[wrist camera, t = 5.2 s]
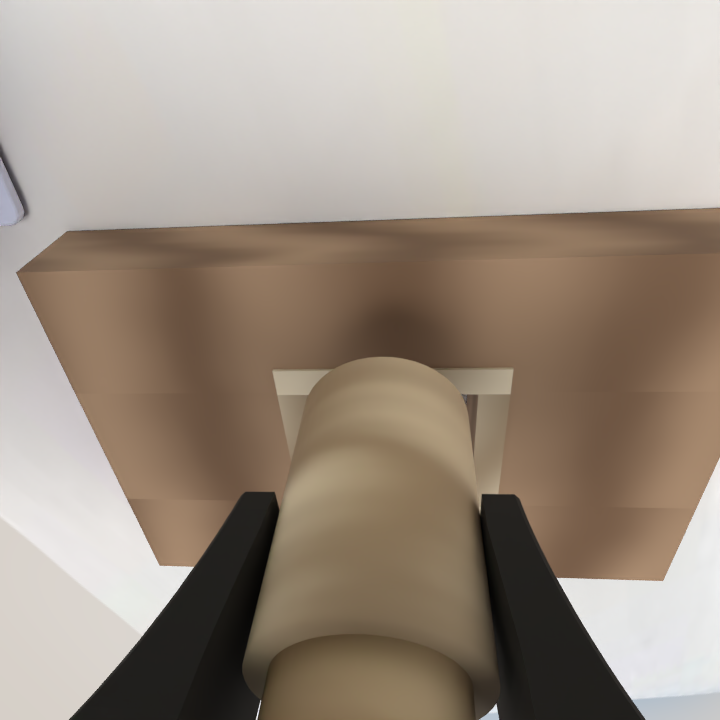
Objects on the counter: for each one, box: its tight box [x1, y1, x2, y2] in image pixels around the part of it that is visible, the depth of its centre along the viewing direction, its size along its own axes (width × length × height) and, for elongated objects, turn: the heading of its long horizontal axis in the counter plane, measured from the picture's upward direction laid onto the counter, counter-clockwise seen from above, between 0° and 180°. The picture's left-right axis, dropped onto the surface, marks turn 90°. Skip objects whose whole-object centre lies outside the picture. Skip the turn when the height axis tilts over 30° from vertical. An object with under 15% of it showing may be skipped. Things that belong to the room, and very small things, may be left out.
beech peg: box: [242, 357, 500, 720], centre depth 10 cm, size 4×4×9 cm
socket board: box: [16, 208, 720, 581], centre depth 21 cm, size 22×15×3 cm
